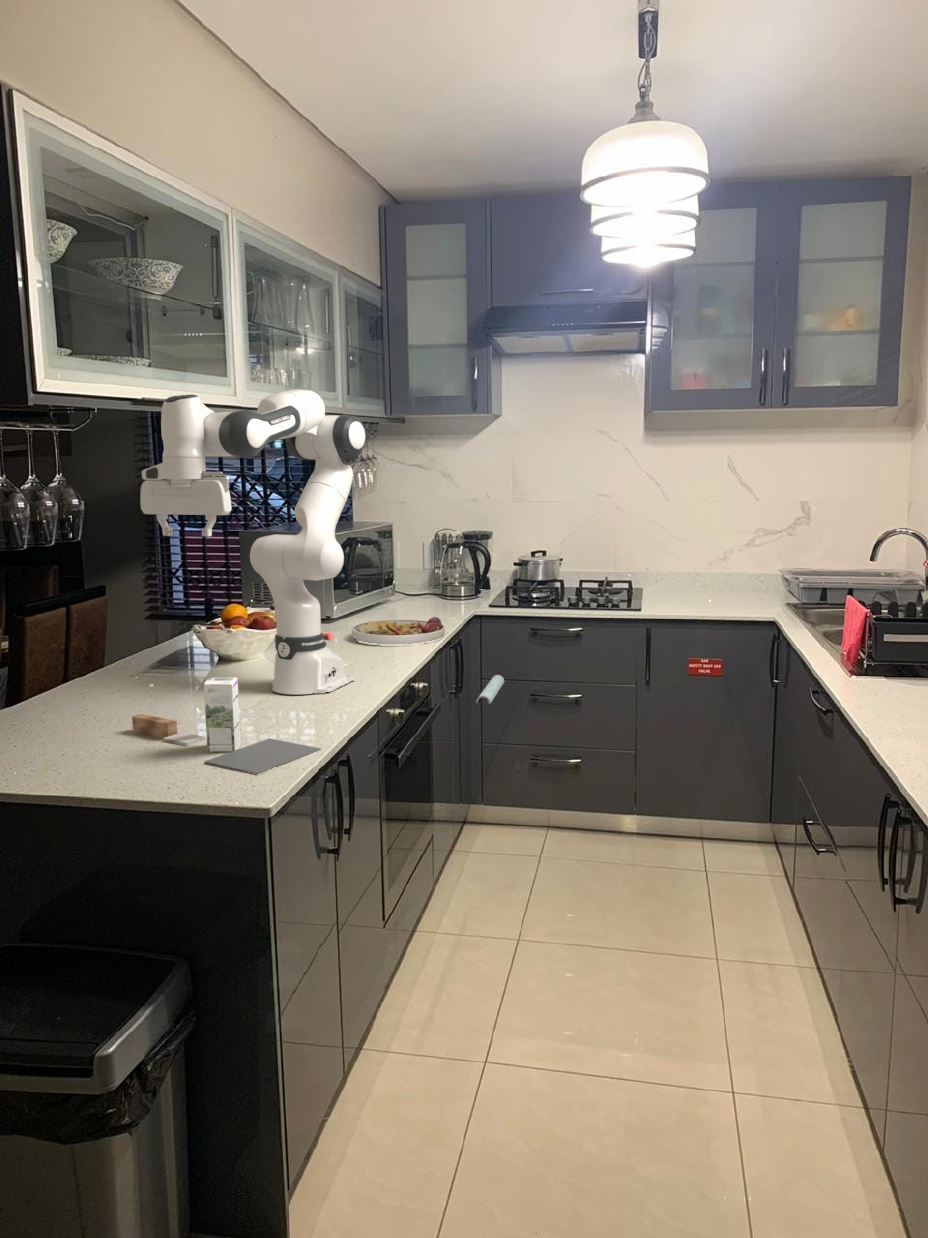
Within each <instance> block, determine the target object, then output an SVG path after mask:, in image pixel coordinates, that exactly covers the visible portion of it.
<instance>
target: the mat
mask: <svg viewBox="0 0 928 1238" xmlns="http://www.w3.org/2000/svg"><path fill="white" fill-rule="evenodd" d="M321 750H322V748H320V747H317V746H316V747H315V746H310V745H305V744H299V743H295V742H290V741H285V740H280V739H275V738H266V739H264V740H261V741H259V742H255V743H252V744H249V745H246V746H244V747H241V748H237V750H235V751H232V752H226V753H224V754H221V755H219V756H216V757H213V758H210V759H206V760H205V761H204V765H209V766H212V767H213V766H214V767H218V768H221V769H227V770H232V771H236V770H237V771H236V772H241V771H244V772H243V773H245V772H250V773H255V774H260V773H262V772H265V771H267V770H269V769H272V768H274V767H277V768H279V766H280V767H281V765H282V766H284V765H286V764H287V765H288V764H289V763H293V762H294V761H297V760H299V759H301V757H302V758H304V757H306V756H310V755H312V754H313V753H316V752H319V751H321ZM272 770H273V769H272ZM267 772H268V771H267ZM250 773H249V774H250ZM265 773H266V772H265ZM255 774H254V775H255ZM262 774H263V773H262ZM260 775H261V774H260Z"/></svg>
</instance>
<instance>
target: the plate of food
mask: <svg viewBox="0 0 928 1238" xmlns="http://www.w3.org/2000/svg"><path fill="white" fill-rule="evenodd" d="M445 631H446V627H445V625H444V624H443V623H442V620H441V619H440V618H439V617H436V616H434V617H433V616H432V617H430V618H429V619H428V620H419V619H414V620H413V619H388V620H387V619H386V620H385V619H384V620H376V621H375V620H373V621H372V620H370V621H366V622H363V623H362V622H361V623H359V624H355V625H353V626H352V627H351V634H352V637H353V639H354V640H355V639H356V640H358V641H363V642H368V643H377V644H412V643H421V642H427V641H432V640H436V639H439V638H441V637H443V638H444V636H445ZM356 640H355V641H356Z"/></svg>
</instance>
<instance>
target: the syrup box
mask: <svg viewBox="0 0 928 1238" xmlns="http://www.w3.org/2000/svg"><path fill="white" fill-rule="evenodd" d="M238 683H239V682H238V677H235V676H234V677H231V676H230V677H209V678H207V679H206V680H205V681H204V683H203V693H204V694H203V696H204V714H205V731H206V732H205V733H206V750H207V754H208V753H209V754H211V753H212V754H213V753H216V754H217V753H218V754H219V753H229V752H232V751H235V750H238V749H239V747H240V746H241V732H240V711H239V709H240V708H239V684H238Z"/></svg>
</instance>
